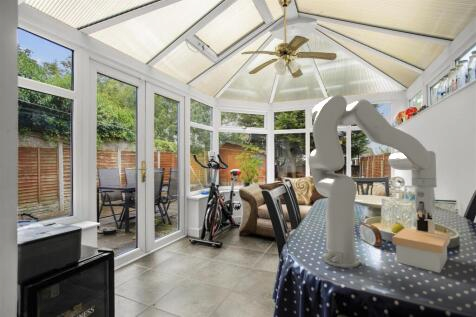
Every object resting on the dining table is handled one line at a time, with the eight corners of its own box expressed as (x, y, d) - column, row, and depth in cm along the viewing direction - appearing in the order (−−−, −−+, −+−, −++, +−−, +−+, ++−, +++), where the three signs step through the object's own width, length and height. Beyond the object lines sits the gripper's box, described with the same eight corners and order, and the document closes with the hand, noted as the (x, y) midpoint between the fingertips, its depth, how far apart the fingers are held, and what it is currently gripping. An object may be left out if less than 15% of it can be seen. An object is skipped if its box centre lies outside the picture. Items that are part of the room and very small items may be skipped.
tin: (383, 249, 98) (382, 228, 99) (375, 249, 98) (375, 228, 99) (364, 238, 113) (364, 220, 114) (357, 238, 114) (357, 220, 114)
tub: (439, 272, 77) (439, 247, 77) (396, 261, 86) (395, 239, 86) (447, 259, 87) (446, 237, 88) (407, 250, 96) (407, 231, 97)
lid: (442, 253, 76) (441, 230, 76) (392, 243, 86) (391, 222, 86) (450, 241, 88) (449, 221, 88) (405, 233, 98) (405, 215, 98)
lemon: (404, 239, 111) (403, 222, 111) (408, 243, 105) (407, 225, 106) (390, 238, 112) (389, 221, 113) (393, 242, 107) (393, 224, 107)
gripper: (431, 184, 83) (433, 235, 82) (440, 182, 95) (441, 226, 94) (406, 183, 88) (407, 231, 88) (417, 181, 100) (418, 223, 100)
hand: (425, 228), depth 91 cm, fingers open, 7 cm apart
